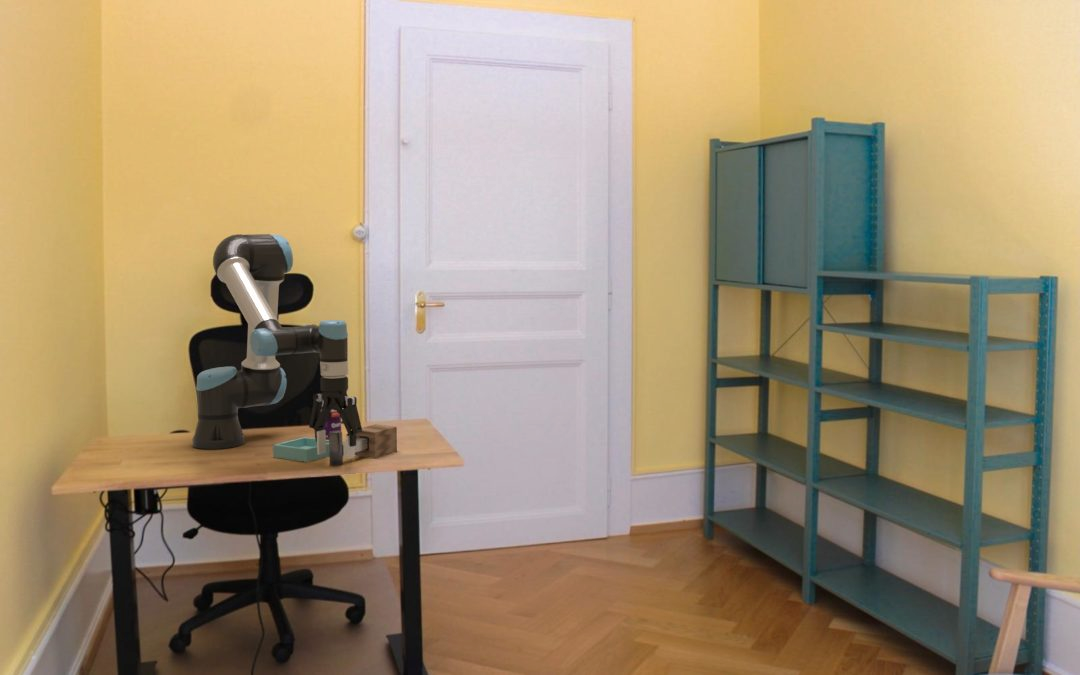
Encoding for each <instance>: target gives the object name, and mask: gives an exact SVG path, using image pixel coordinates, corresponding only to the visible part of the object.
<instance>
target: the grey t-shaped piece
mask: <svg viewBox="0 0 1080 675" xmlns="http://www.w3.org/2000/svg"><path fill="white" fill-rule="evenodd" d="M366 449H369V437H365V436H364V437H361V438H357V439H356V446H355V452H359V451H362V450H366ZM344 456H346V441H343V431H342V430H341V431H331V432H329V456H328V457H329V466H342V465H344V458H343V457H344Z"/></svg>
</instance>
